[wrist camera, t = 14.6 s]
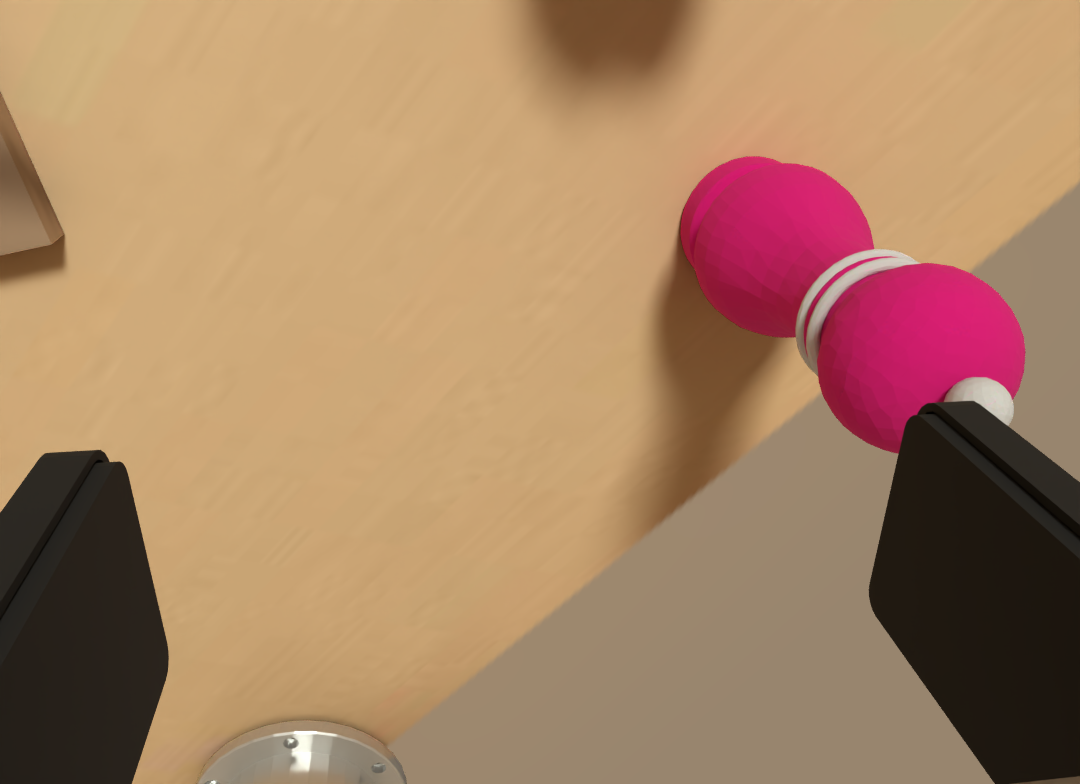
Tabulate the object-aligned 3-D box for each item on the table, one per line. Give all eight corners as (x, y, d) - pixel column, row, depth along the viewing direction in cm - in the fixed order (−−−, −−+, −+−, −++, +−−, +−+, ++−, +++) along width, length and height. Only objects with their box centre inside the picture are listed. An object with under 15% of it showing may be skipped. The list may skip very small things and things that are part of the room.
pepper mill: (761, 317, 44) (1003, 565, 26) (640, 256, 42) (816, 482, 24) (846, 188, 41) (1177, 364, 24) (723, 115, 39) (989, 250, 21)
